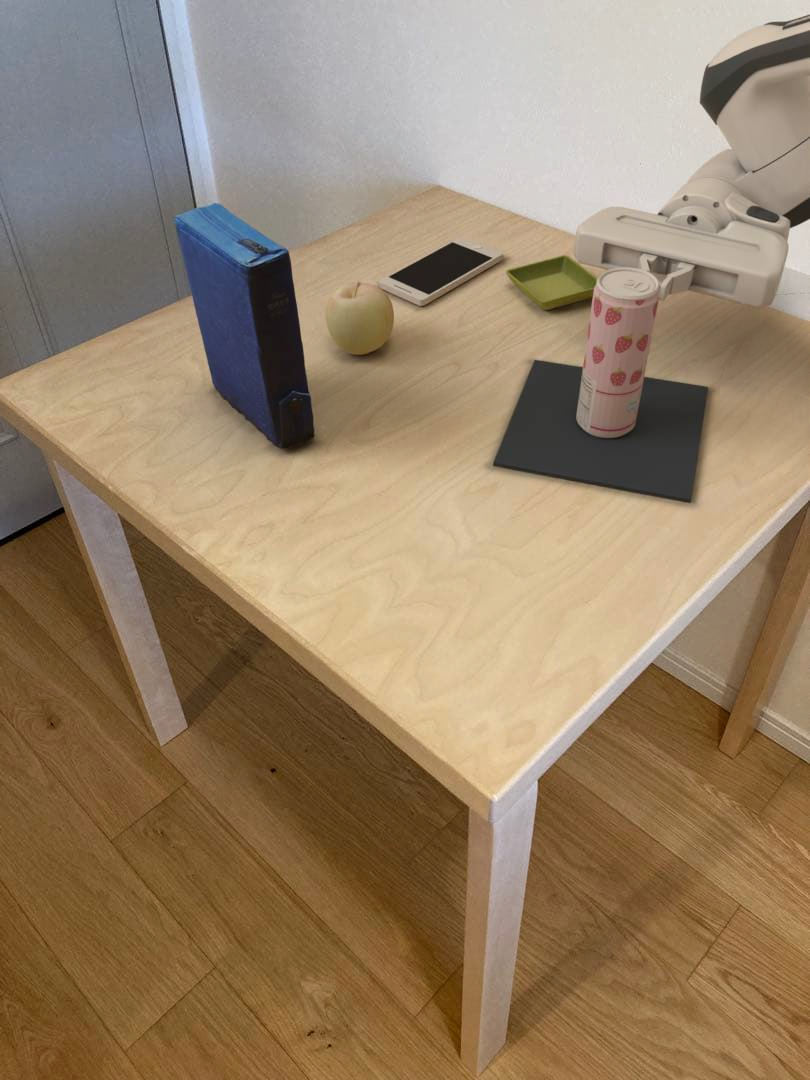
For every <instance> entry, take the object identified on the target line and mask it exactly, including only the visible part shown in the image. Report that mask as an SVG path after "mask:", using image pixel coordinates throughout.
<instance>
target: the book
mask: <svg viewBox="0 0 810 1080" xmlns="http://www.w3.org/2000/svg"><path fill="white" fill-rule="evenodd" d="M173 223H174V226H175V230H176V234H177V238H178V243H179V248H180V252H181V255H182V260H183V263H184V267H185V272H186V276H187V282H188V285H189V288H190V292H191V298H192V301H193V306H194V310H195V315H196V319H197V323H198V327H199V331H200V335H201V341H202V344H203V348H204V352H205V357H206V360H207V365H208V366H207V367H208V369H209V374H210V378H211V381H212V385H213V387H214V389H215V390H216V391H217V392H218V393H219V394H220V396H221V398H222V399H223V400H225V401H227V402H228V404H229V405H230V406H231V408H232V409H234V410H235V411H236V412H237V413H239V414H242V415H243V417H244V419H245V421H247V422H249V423H251V424H252V425H253V426H254V427H255V428H256V430H258V431H259V432H260V433H261V434H262V435H264V436H265V437H266V439H267V441H269V442H270V443H271V444H272V445H273V446H274V447H276V448H278V449H281V450H282V449H283V450H286V449H292V448H295V447H298V446H301V445H304V444H306V443H308V442H310V441H311V440H313V439H314V438H315V437H316V436H315V426H314V413H313V405H312V396H311V393H310V390H309V386H308V385H309V384H308V383H309V382H308V377H307V370H306V363H305V353H304V343H303V340H302V332H301V324H300V316H299V309H298V302H297V298H296V290H295V284H294V278H293V277H294V276H293V269H292V267H293V266H292V260H291V256H290V252H289V250H288V249H287V248H286V247H285V246H283V245H281V244H279V243H278V242H276V241H274V240H272V239H271V238H268V237H267V236H265V235H264V234H263V233H261V232H260V231H259V230H257V229H256V228H254V227H253V226H251V225H249V224H248V223H246V222H245V221H244V220H242V219H240V218H239V217H238V216H236V215H235V214H234V213H232V212H231V211H229V210H228V209H227V208H226V207H224V206H223V205H222V204H220V203H218V202H213V203H212V204H210V205H205V206H201V207H200V206H199V207H195V208H193V209H191V210H189V211H186V212H184V213H181V214H177V215H174V221H173Z"/></svg>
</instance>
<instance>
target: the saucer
mask: <svg viewBox="0 0 810 1080" xmlns="http://www.w3.org/2000/svg"><path fill="white" fill-rule="evenodd" d="M505 274H506V275H507V277H508V278H509V280H510V281H511V282H512V284H514V286H515V287H516V288H517V289H518V290H520V291H521V292H522V293H523V294H525V295H526V296H527V298H529V299H530V300H531V301H533V302H534V303H535V304H536V305H537V306H538V307H540V308H541V309H542V310H543V311H549V310H553V309H556V308H560V307H563V306H567V305H570V304H574V303H578V302H581V301H585V300H588V299H591V298H593V292H594V287H595V285H596V284H597V279H598V277H596V276H595V275H594V274H593V273H592V272H590V271H589V270H587V269H586V268H585V267H584V266H582V265H581V263H579V262H578V261H577V260H575V259H573V257H570V256H569V255H567V254H566V255H558V256H555V257H551V258H547V259H542V260H540V261H536V262H533V263H528V264H524V265H520V266H516V267H512V268H509V269H506V270H505Z"/></svg>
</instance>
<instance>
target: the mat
mask: <svg viewBox="0 0 810 1080" xmlns="http://www.w3.org/2000/svg"><path fill="white" fill-rule="evenodd" d="M582 371H583V366H577V365H572V364H564V363H558V362H553V361H545V360H541V359H540V360H539V359H534V360H533V362H532V364H531V367H530V370H529V373H528V376H527V378H526V380H525V383H524V385H523V387H522V390H521V391H520V392H521V393H520V395H519V397H518V400H517V403H516V404H515V408H514V410H513V412H512V415H511V418H510V420H509V422H508V425H507V426H506V427H507V428H506V430H505V432H504V435H503V438H502V440H501V442H500V445H499V448H498V450H497V452H496V455H495V457H494V459H493V463H492V466H493V467H498V468H504V469H508V470H513V471H519V472H525V473H526V472H527V473H530V474H536V475H539V476H541V475H542V476H545V477H550V478H551V477H552V478H556V479H562V480H567V481H572V482H578V483H583V484H589V485H595V486H598V487H599V486H600V487H604V488H610V489H615V490H621V491H627V492H632V493H637V494H642V495H646V496H647V495H648V496H653V497H657V498H663V499H669V500H675V501H679V502H684V503H691V501H692V497H693V492H694V491H693V489H694V484H695V478H696V477H695V476H696V471H697V464H698V458H699V450H700V444H701V437H702V431H703V423H704V417H705V411H706V404H707V397H708V391H709V387H708V386H706V385H699V384H692V383H687V382H679V381H673V380H667V379H661V378H654V377H648V376H644V381H643V386H642V391H641V397H640V402H639V407H638V413H637V418H636V423H635V426H634V428H633V429H632V430H631V431H630V432H628V433H626V434H624V435H623V436H620V437H616V438H601V437H597V436H594V435H591V434H589V433H588V432H586V431H585V430H584V429H583V428H582V427H581V426H580V425H579V424H578V422H577V419H576V414H577V407H578V400H579V393H580V386H581V378H582Z"/></svg>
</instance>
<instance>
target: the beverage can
mask: <svg viewBox="0 0 810 1080" xmlns="http://www.w3.org/2000/svg"><path fill="white" fill-rule="evenodd" d="M597 278H598V279H597V284H596V285H595V287H594V292H593V296H592V300H591V307H590V313H589V314H590V315H589V322H588V329H587V336H586V343H585V350H584V356H583V357H584V358H583V363H582V367H583V371H582V378H581V386H580V393H579V400H578V407H577V414H576V419H577V422H578V424H579V425H580V426H581V427H582V428H583V429H584V430H585V431H586V432H588V433H589V434H591V435H594V436H597V437H601V438H616V437H620V436H623V435H624V434H626V433H628V432H630V431H631V430H632V429H633V428H634V426H635V423H636V418H637V413H638V407H639V402H640V397H641V391H642V386H643V381H644V377H646V369H647V365H648V361H649V360H648V358H649V354H650V349H651V344H652V342H651V341H652V338H653V333H654V327H655V322H656V316H657V311H658V307H659V302H660V300H659V296H660V293H659V287H660V286H659V282H658V280H657V278H656V277H655V276H654V275H652V274H651V273H649V272H647V271H644V270H641V269H637V268H629V267H620V268H613V269H609V270H605V271H603V272H602V273H601V274H600V275H599V276H598V277H597Z"/></svg>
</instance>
